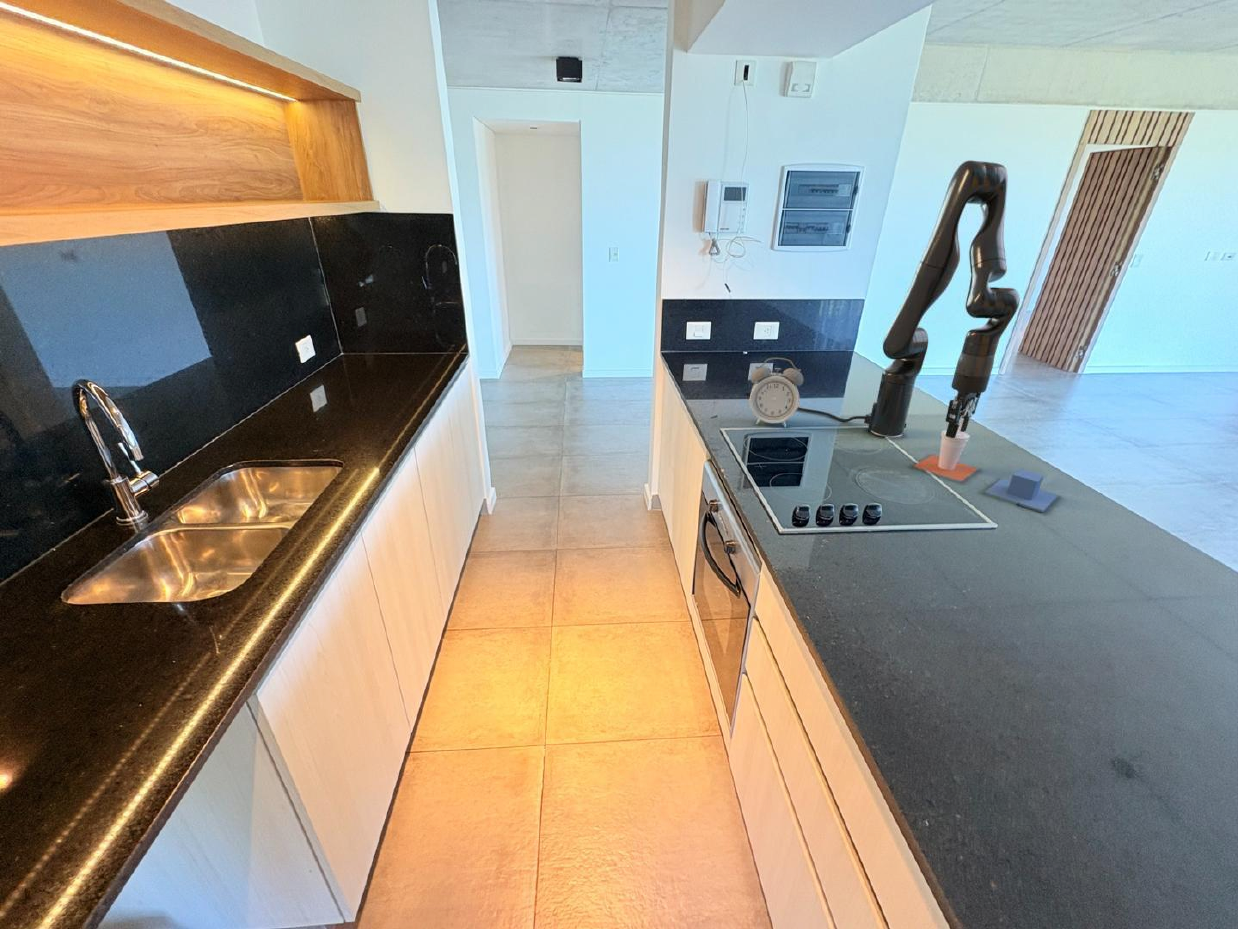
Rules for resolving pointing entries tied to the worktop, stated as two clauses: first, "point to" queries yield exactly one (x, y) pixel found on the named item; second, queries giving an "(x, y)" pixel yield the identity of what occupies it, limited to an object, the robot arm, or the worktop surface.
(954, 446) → the smoothie
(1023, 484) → the blue block
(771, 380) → the alarm clock
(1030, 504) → the blue mat
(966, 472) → the terracotta mat
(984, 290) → the robot arm
